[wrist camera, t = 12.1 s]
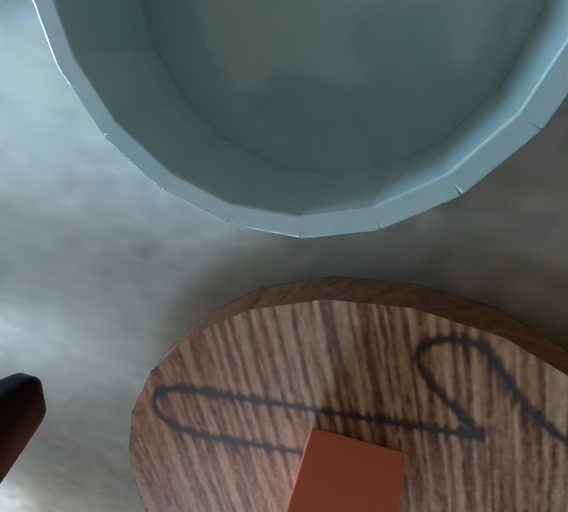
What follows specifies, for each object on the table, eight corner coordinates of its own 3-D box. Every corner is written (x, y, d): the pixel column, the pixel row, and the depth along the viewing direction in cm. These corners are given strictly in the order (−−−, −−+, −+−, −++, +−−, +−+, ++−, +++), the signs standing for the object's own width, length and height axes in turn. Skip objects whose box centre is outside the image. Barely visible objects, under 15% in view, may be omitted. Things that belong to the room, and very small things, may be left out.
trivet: (87, 285, 24) (60, 304, 22) (703, 263, 16) (735, 291, 14) (206, 601, 33) (194, 631, 32) (627, 687, 25) (640, 734, 24)
